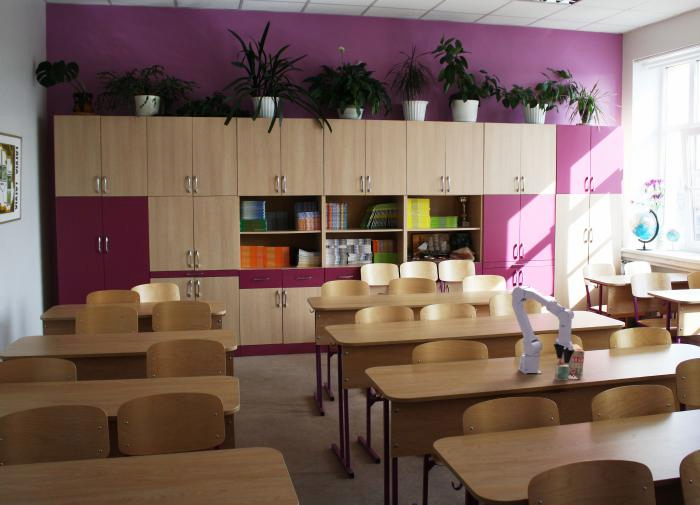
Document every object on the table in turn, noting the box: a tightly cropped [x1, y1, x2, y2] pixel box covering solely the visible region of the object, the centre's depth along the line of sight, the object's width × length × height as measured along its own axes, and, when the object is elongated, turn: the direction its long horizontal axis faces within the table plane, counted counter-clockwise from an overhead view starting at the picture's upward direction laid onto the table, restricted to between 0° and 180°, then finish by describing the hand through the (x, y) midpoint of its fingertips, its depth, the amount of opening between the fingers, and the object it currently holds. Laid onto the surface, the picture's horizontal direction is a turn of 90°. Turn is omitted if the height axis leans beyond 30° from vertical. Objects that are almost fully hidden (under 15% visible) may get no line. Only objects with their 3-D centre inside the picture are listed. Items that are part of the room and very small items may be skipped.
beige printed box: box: [558, 343, 585, 374], centre depth 366 cm, size 21×6×12 cm, turn 179°
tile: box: [554, 364, 570, 380], centre depth 346 cm, size 6×2×7 cm, turn 100°
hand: (563, 360), depth 345 cm, fingers open, 7 cm apart
